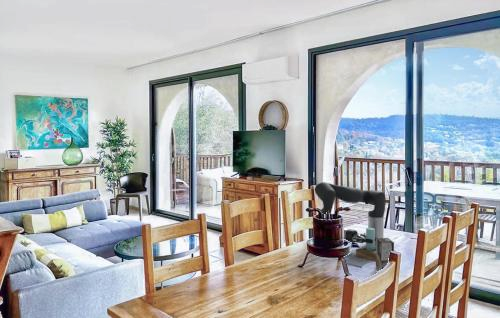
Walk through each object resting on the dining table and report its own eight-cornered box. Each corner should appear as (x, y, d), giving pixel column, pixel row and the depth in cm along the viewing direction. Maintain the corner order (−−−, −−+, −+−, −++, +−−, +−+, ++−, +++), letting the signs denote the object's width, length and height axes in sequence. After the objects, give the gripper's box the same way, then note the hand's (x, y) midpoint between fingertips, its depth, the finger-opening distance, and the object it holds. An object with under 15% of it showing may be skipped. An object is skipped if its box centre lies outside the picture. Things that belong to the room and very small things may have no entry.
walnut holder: (364, 250, 234) (364, 243, 234) (390, 256, 223) (390, 249, 223) (350, 256, 223) (350, 249, 223) (376, 263, 212) (377, 255, 212)
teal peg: (368, 253, 226) (368, 227, 226) (376, 255, 223) (376, 228, 222) (364, 255, 223) (364, 229, 222) (372, 257, 220) (372, 230, 219)
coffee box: (394, 275, 194) (394, 242, 193) (380, 275, 194) (381, 242, 193) (387, 268, 203) (388, 237, 202) (375, 268, 203) (375, 237, 202)
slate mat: (352, 258, 220) (352, 257, 220) (371, 262, 213) (371, 261, 212) (342, 262, 212) (342, 261, 212) (361, 267, 205) (361, 266, 205)
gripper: (354, 239, 238) (380, 244, 226) (341, 244, 228) (368, 250, 216) (354, 226, 237) (381, 231, 225) (341, 231, 227) (368, 236, 215)
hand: (374, 240), depth 221 cm, fingers closed on teal peg, 4 cm apart
